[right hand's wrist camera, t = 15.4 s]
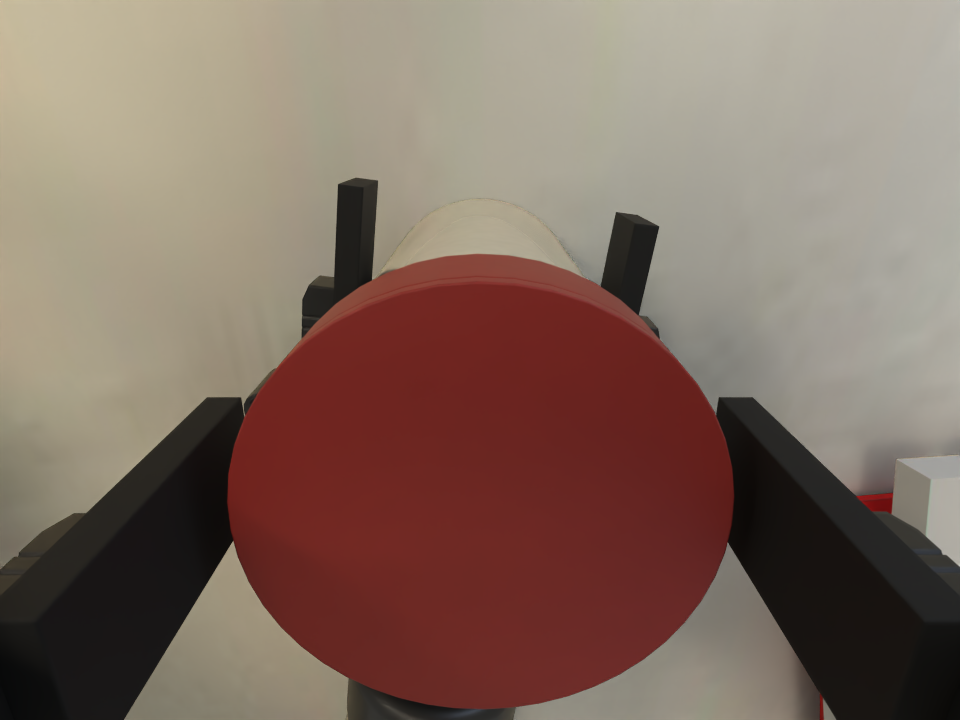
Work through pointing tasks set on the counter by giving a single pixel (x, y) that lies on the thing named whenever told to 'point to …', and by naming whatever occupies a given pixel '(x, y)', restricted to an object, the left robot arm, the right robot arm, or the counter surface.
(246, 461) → the lid
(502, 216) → the jar
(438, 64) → the counter surface
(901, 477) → the toy
